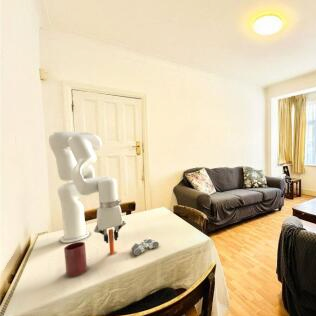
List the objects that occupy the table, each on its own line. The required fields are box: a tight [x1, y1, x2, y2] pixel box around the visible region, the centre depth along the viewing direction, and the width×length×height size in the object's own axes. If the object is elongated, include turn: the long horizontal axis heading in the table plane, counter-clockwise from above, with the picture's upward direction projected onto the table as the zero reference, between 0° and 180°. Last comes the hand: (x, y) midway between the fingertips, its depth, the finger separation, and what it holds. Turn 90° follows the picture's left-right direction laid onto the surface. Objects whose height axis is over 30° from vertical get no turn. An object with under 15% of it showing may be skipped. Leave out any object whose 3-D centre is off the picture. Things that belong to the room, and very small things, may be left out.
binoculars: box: [130, 237, 160, 256], centre depth 103 cm, size 12×8×4 cm, turn 139°
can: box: [63, 241, 88, 278], centre depth 84 cm, size 7×7×12 cm
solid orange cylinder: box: [108, 228, 115, 255], centre depth 98 cm, size 2×2×12 cm
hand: (111, 240), depth 98 cm, fingers open, 3 cm apart
